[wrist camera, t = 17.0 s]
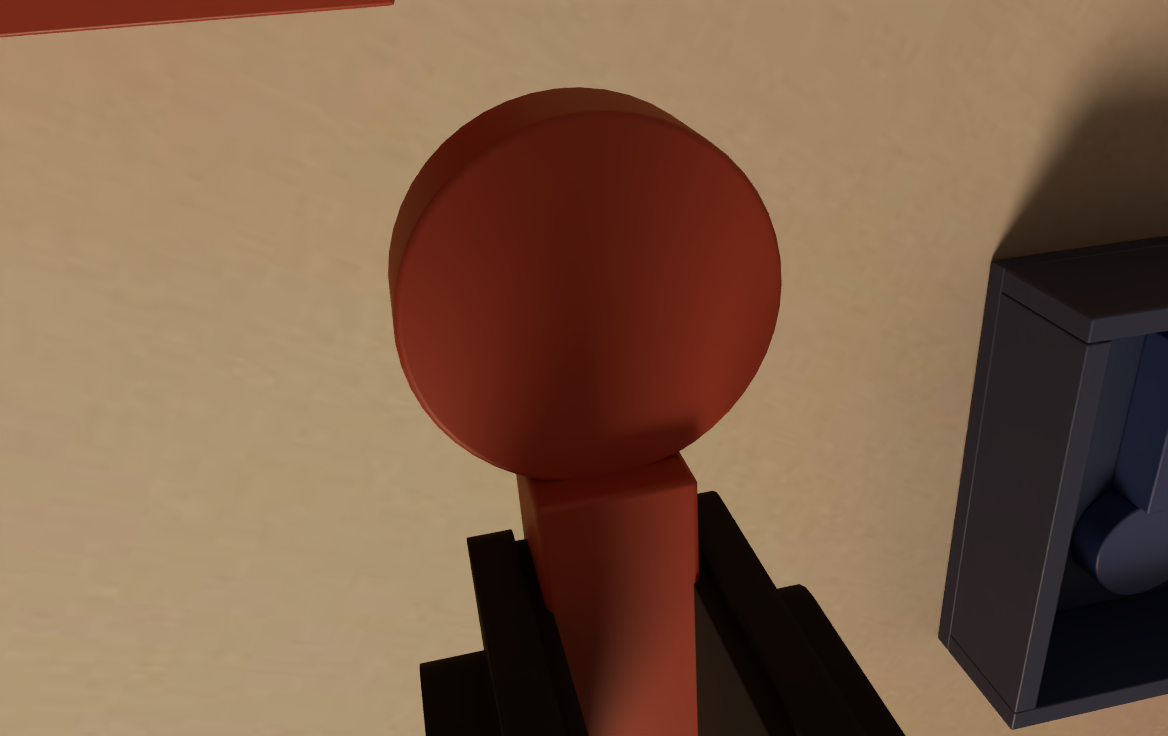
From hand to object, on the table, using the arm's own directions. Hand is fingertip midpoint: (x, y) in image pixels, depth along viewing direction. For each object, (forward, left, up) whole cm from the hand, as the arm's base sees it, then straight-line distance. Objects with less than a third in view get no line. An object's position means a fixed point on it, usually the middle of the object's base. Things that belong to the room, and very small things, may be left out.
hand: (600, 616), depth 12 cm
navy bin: (+9, +20, -13) cm, 25 cm away
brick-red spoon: (-2, 0, 0) cm, 2 cm away
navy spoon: (+9, +20, -13) cm, 25 cm away
